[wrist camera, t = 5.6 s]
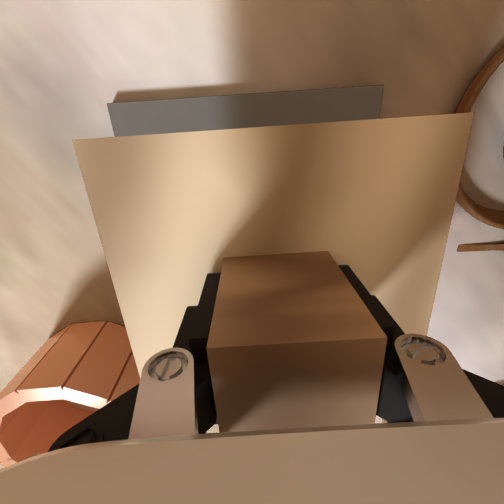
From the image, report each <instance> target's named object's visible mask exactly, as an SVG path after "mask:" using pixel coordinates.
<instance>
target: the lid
mask: <svg viewBox="0 0 504 504" xmlns="http://www.w3.org/2000/svg"><path fill="white" fill-rule="evenodd" d="M473 117H474V112H471V113H456V114H442V115H427V116H413V117H398V118H384V119H369V120H354V121H340V122H325V123H311V124H296V125H282V126H267V127H253V128H238V129H224V130H209V131H194V132H180V133H165V134H151V135H136V136H122V137H107V138H93V139H78V140H72V142H73V145H74V149H75V152H76V156H77V159H78V163H79V166H80V170H81V173H82V177H83V180H84V184H85V187H86V191H87V194H88V198H89V201H90V205H91V208H92V212H93V215H94V219H95V222H96V226H97V229H98V233H99V236H100V240H101V243H102V247H103V250H104V254H105V257H106V261H107V264H108V268H109V271H110V275H111V278H112V281H113V285H114V288H115V292H116V295H117V299H118V302H119V306H120V309H121V313H122V316H123V320H124V323H125V327H126V330H127V334H128V337H129V341H130V344H131V348H132V351H133V355H134V358H135V362H136V365H137V369H138V372H139V376H140V379H141V374H142V369H143V367H144V364H145V363H146V362H147V361H148V359H149V358H151V357H152V356H153V355H154V354H156V353H158V352H160V351H162V350H165V349H169V348H173V345H174V342H175V339H176V336H177V333H178V331H179V328H180V325H181V322H182V319H183V316H184V314H185V311H186V308H187V307H188V306H198V303H199V300H200V296H201V293H202V290H203V286H204V283H205V279H206V276H207V273H221V275H220V280H219V285H218V291H217V296H216V301H215V306H214V311H213V317H212V322H211V327H210V332H209V337H208V342H207V348H206V349H207V355H208V362H209V368H210V374H211V381H212V387H213V393H214V400H215V406H216V412H217V419H218V425H219V431H220V433H224V432H240V431H256V430H273V429H290V428H308V427H325V426H343V425H361V424H375V417H376V410H377V404H378V397H379V390H380V384H381V377H382V370H383V364H384V357H385V350H386V344H387V336H386V335H385V333H384V332H383V330H382V329H381V327H380V326H379V324H378V323H377V322H376V320H375V319H374V317H373V316H372V314H371V313H370V311H369V310H368V308H367V307H366V305H365V304H364V303H363V301H362V300H361V298H360V297H359V295H358V294H357V292H356V291H355V289H354V288H353V287H352V285H351V284H350V282H349V281H348V279H347V278H346V276H345V275H344V273H343V272H342V271H341V269H340V268H339V266H338V265H349V267H350V268H351V269H352V271H353V272H354V273H355V275H356V276H357V277H358V279H359V280H360V281H361V282H362V284H363V285H364V286H365V288H366V289H367V290H368V292H369V293H370V294H371V295H375V296H376V297H377V298H378V300H379V301H380V302H381V304H382V305H383V306H384V307H385V309H386V310H387V311H388V312H389V314H390V315H391V316H392V318H393V319H394V320H395V321H396V323H397V324H398V325H399V326H400V328H401V329H402V330H403V332H404V333H405V334H421V335H425V336H427V331H428V326H429V322H430V317H431V312H432V308H433V303H434V299H435V294H436V289H437V285H438V280H439V275H440V271H441V266H442V261H443V257H444V252H445V247H446V243H447V238H448V233H449V229H450V224H451V219H452V215H453V210H454V205H455V201H456V196H457V191H458V187H459V182H460V177H461V173H462V168H463V163H464V159H465V154H466V149H467V145H468V140H469V135H470V131H471V126H472V121H473Z"/></svg>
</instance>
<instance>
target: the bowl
mask: <svg viewBox="0 0 504 504" xmlns="http://www.w3.org/2000/svg"><path fill="white" fill-rule="evenodd" d="M139 383H140V376H139V372H138V369H137V365H136V362H135V358H134V355H133V351H132V348H131V344H130V341H129V337H128V334H127V330H126V327H124V326H121V325H118V324H115V323H112V322H109V321H108V322H107V323H106V321H98V322H85V323H73V324H70V325H69V326H67V327H66V328H64V329H63V330H61V331H60V332H58V333H57V334H55V335H54V336H52V337H51V338H49V339H48V340H47V341H46V342H45V343H44V344H43V346H42V347H41V348H40V349H39V350H38V351H37V352H36V353H35V355H34V356H33V357H32V358H31V359H30V360H29V361H28V362H27V363H26V365H25V366H24V367H23V368H22V369H21V370H20V371H19V372H18V373H17V375H16V376H15V377H14V378H13V379H12V380H11V381H10V382H9V383H8V385H7V386H6V387H5V388H4V389H3V390H2V391H1V392H0V464H1V465H3V466H5V467H7V466H10V465H12V464H15V463H17V462H20V461H22V460H24V459H26V458H28V457H30V456H32V455H34V454H35V453H37V452H38V453H39V455H40V454H43V453H47V452H48V450H49V449H50V447H51V445H52V444H53V443H54V442H55V441H56V440H57V439H58V437H59V436H60V435H62V434H63V433H64V432H66V431H67V430H68V429H69V428H71V427H72V426H74V425H76V424H77V423H79V422H80V421H82V420H83V419H85V418H86V417H88V416H89V415H91V414H93V413H94V412H96V411H97V410H99V409H100V408H102V407H103V406H105V405H107V404H108V403H110V402H111V401H113V400H114V399H116V398H117V397H119V396H120V395H122V394H124V393H125V392H127V391H128V390H130V389H131V388H133V387H134V386H136V385H137V384H139Z"/></svg>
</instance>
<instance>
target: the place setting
mask: <svg viewBox="0 0 504 504" xmlns="http://www.w3.org/2000/svg"><path fill="white" fill-rule="evenodd" d="M503 61H504V47H503V48H502V49H501V50H500V51H498V52H497V53H496V54H495V56H494V57H493V58H492V59H491V60H490V61H489V62H488V63H487V64H486V65H485V66H484V67H483V69H482V70H481V71H480V72H479V74H478V75H477V76H476V77H475V79H474V80H473V82H472V83H471V85H470V86H469V88H468V89H467V91H466V92H465V94H464V96H463V98H462V100H461V102H460V104H459V106H458V108H457V110H456V112H455V114H456V113H469V112H470V109H471V107H472V105H473V103H474V101H475V100H476V98H477V96H478V94H479V92H480V91H481V89H482V88H483V86H484V85H485V83H486V82H487V80H488V79H489V77H490V76H491V75H492V74H493V72H494V71H495V70H496V69H497V67H498V66H499V65H500V64H501V63H502V62H503ZM503 158H504V147H503ZM456 200H457V201H458V203H459V204H460V205H461V206H462V207H463V209H464V210H465V211H466V212H468V213H469V214H470V215H472V216H473V217H474V218H476V219H478V220H480V221H482V222H484V223H486V224H488V225H490V226H493V227H497V228H500V229H504V211H496V210H491V209H488V208H485V207H483V206H481V205H479V204H477V203H476V202H474V201H473V200H472V199H470V197H469V196H468V195H467V194H466V193H465V192H464V190H463V188H462V187H461V184H460V182H459V187H458V191H457V196H456ZM485 250H502V251H504V243H500V244H460V245H458V248H457V251H458V252H463V251H485Z"/></svg>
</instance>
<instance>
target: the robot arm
mask: <svg viewBox="0 0 504 504" xmlns="http://www.w3.org/2000/svg"><path fill="white" fill-rule="evenodd" d="M338 266H339V268H340V269H341V271H342V272H343V273H344V275H345V276H346V278H347V279H348V281H349V282H350V284H351V285H352V287H353V288H354V289H355V291H356V292H357V294H358V295H359V297H360V298H361V300H362V301H363V303H364V304H365V305H366V307H367V308H368V310H369V311H370V313H371V314H372V316H373V317H374V319H375V320H376V322H377V323H378V324H379V326H380V327H381V329H382V330H383V332H384V333H385V335H386V336H387V344H386V350H385V357H384V364H383V370H382V377H381V384H380V390H379V397H378V404H377V410H376V415H377V416H379V417H381V418H382V423H380V424H361V425H343V426H325V427H308V428H290V429H273V430H256V431H240V432H224V433H208V434H207V430H208V429H210V428H211V427H212V426H213V425H214V424H218V419H217V412H216V406H215V400H214V393H213V387H212V381H211V374H210V368H209V362H208V355H207V349H206V348H207V342H208V337H209V332H210V327H211V322H212V317H213V311H214V306H215V301H216V296H217V291H218V285H219V280H220V275H221V273H207V276H206V279H205V283H204V286H203V290H202V293H201V296H200V300H199V303H198V306H188V307H187V308H186V311H185V314H184V316H183V319H182V322H181V325H180V328H179V331H178V333H177V336H176V339H175V342H174V345H173V348H169V349H165V350H162V351H160V352H158V353H156V354H154V355H153V356H152V357H151V358H149V359H148V361H147V362H146V363H145V364H144V367H143V369H142V374H141V379H140V383H139V384H137V385H136V386H134V387H133V388H131V389H130V390H128V391H127V392H125V393H124V394H122V395H120V396H119V397H117V398H116V399H114V400H113V401H111V402H110V403H108V404H107V405H105V406H103V407H102V408H100V409H99V410H97V411H96V412H94V413H93V414H91V415H89V416H88V417H86V418H85V419H83V420H82V421H80V422H79V423H77V424H76V425H74V426H72V427H71V428H69V429H68V430H67V431H66V432H64V433H63V434H62V435H60V436H59V437H58V439H57V440H56V441H55V442H54V443H53V444H52V445H51V447H50V449H49V450H48V452H47V453H43V454H40V455H39V453H38V452H37V453H35V454H34V455H32V456H30V457H28V458H26V459H24V460H22V461H20V462H17V463H15V464H12V465H10V466H7V467H5V468H2V469H0V504H504V386H502V385H499V384H497V383H495V382H492V381H490V380H487V379H485V378H483V377H480V376H478V375H475V374H473V373H471V372H468V371H466V370H463V369H462V368H461V367H460V365H459V364H458V362H457V361H456V359H455V358H454V356H453V354H452V353H451V352H450V350H449V349H448V348H447V347H446V346H445V345H443V344H442V343H441V342H439V341H437V340H435V339H433V338H431V337H428V336H425V335H421V334H405V333H404V332H403V330H402V329H401V328H400V326H399V325H398V324H397V323H396V321H395V320H394V319H393V318H392V316H391V315H390V314H389V312H388V311H387V310H386V309H385V307H384V306H383V305H382V304H381V302H380V301H379V300H378V298H377V297H376V296H375V295H371V294H370V293H369V292H368V290H367V289H366V288H365V286H364V285H363V284H362V282H361V281H360V280H359V279H358V277H357V276H356V275H355V273H354V272H353V271H352V269H351V268H350V267H349V265H338Z"/></svg>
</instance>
